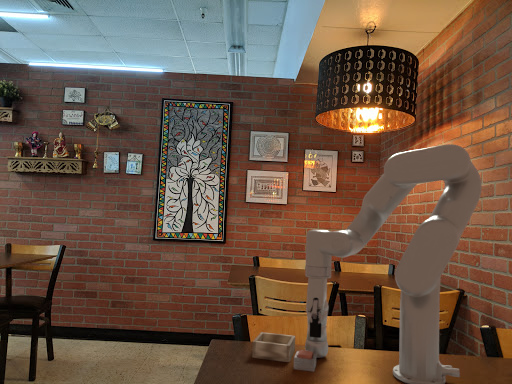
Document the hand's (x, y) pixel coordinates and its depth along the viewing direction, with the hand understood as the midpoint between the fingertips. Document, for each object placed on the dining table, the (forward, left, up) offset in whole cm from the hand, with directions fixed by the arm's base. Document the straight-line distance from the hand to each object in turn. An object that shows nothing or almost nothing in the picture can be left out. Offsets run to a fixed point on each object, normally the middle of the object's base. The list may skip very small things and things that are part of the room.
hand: (316, 332), depth 117 cm
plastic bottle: (0, 0, -7) cm, 7 cm away
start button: (+2, +9, -6) cm, 11 cm away
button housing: (+2, +9, -7) cm, 11 cm away
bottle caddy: (+12, +3, -7) cm, 14 cm away
